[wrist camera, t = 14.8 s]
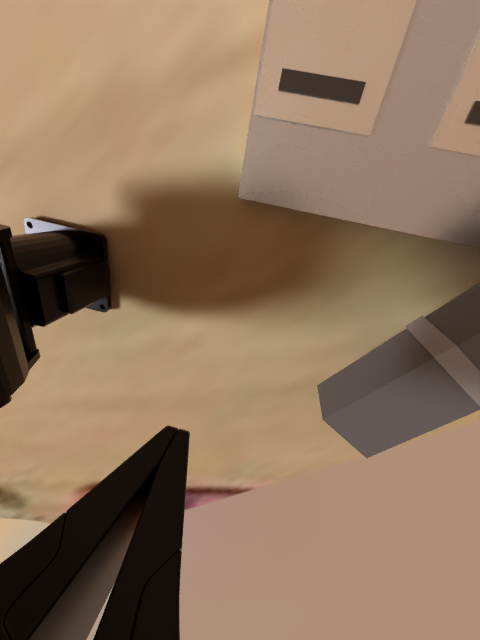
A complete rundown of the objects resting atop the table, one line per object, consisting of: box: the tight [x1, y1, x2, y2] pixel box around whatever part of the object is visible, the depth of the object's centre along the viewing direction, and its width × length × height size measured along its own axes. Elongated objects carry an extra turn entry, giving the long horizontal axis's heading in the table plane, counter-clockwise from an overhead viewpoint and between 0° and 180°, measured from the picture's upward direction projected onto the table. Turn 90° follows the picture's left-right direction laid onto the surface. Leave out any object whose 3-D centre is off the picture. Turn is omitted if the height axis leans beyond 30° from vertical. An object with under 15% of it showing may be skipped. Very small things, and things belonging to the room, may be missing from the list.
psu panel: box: [238, 0, 480, 248], centre depth 12 cm, size 18×13×2 cm
